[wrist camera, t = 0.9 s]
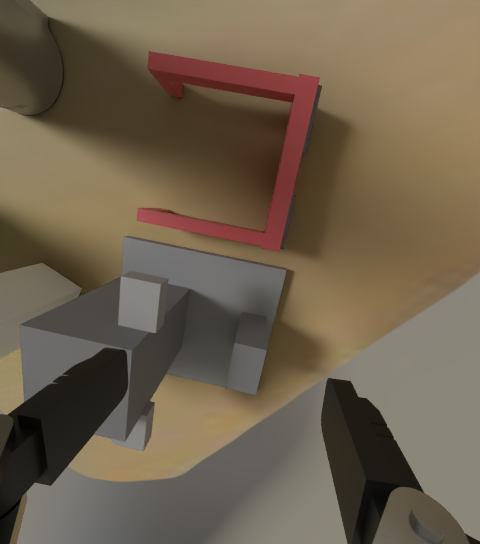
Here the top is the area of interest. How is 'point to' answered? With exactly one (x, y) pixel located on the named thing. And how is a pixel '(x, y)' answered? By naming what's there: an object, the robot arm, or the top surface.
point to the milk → (29, 299)
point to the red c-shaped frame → (294, 147)
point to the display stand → (160, 328)
